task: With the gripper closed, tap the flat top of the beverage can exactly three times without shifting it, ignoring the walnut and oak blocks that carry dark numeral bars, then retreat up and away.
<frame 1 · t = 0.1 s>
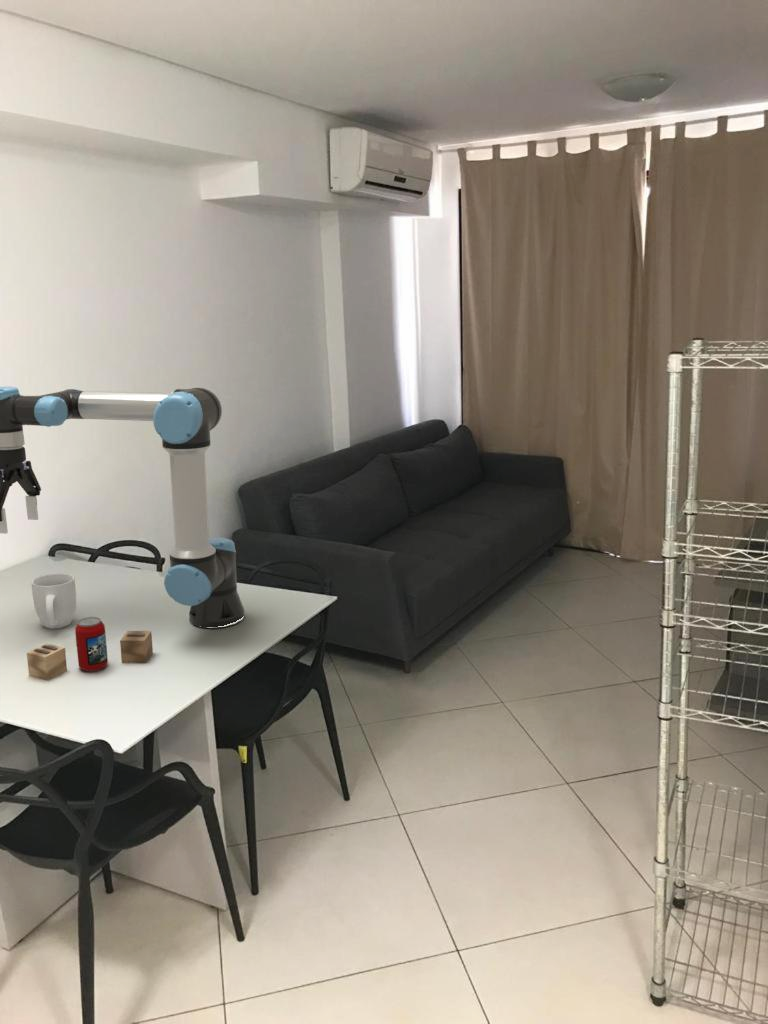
hand: (18, 526, 221), 28 cm above the table, fingers open, 13 cm apart
oak digit block: (48, 673, 199), on the table
walnut digit block: (137, 657, 208), on the table
mug: (57, 626, 228), on the table
beverage can: (93, 667, 203), on the table
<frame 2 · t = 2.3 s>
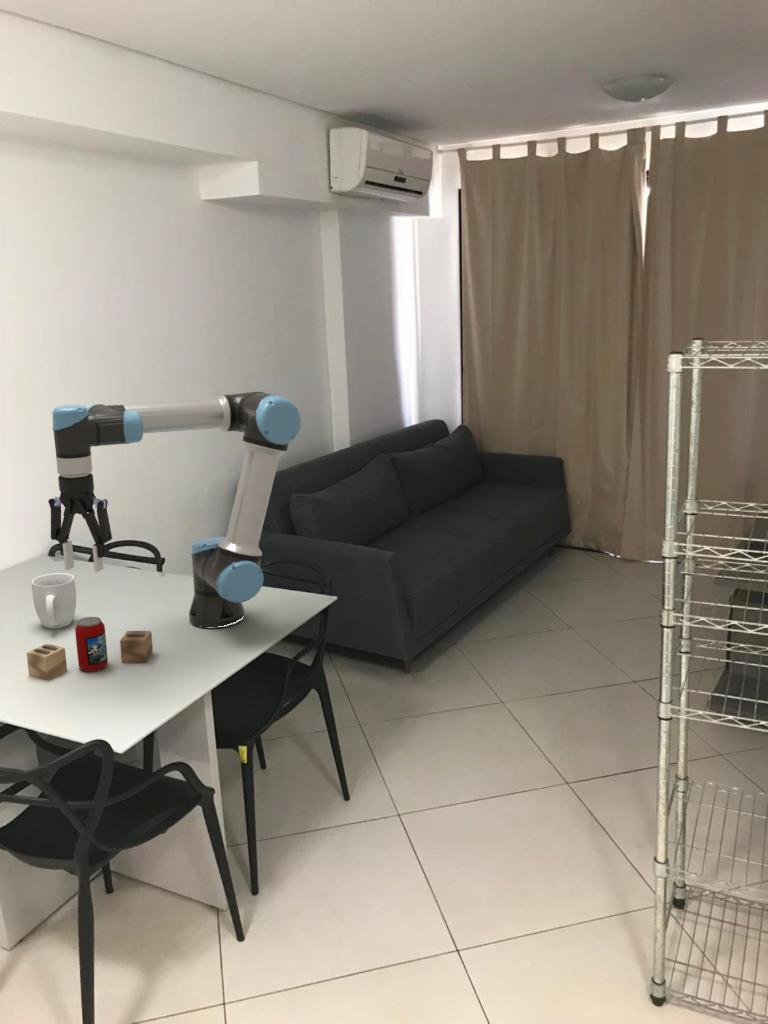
hand: (84, 569, 196), 25 cm above the table, fingers open, 7 cm apart
nothing on the table moved.
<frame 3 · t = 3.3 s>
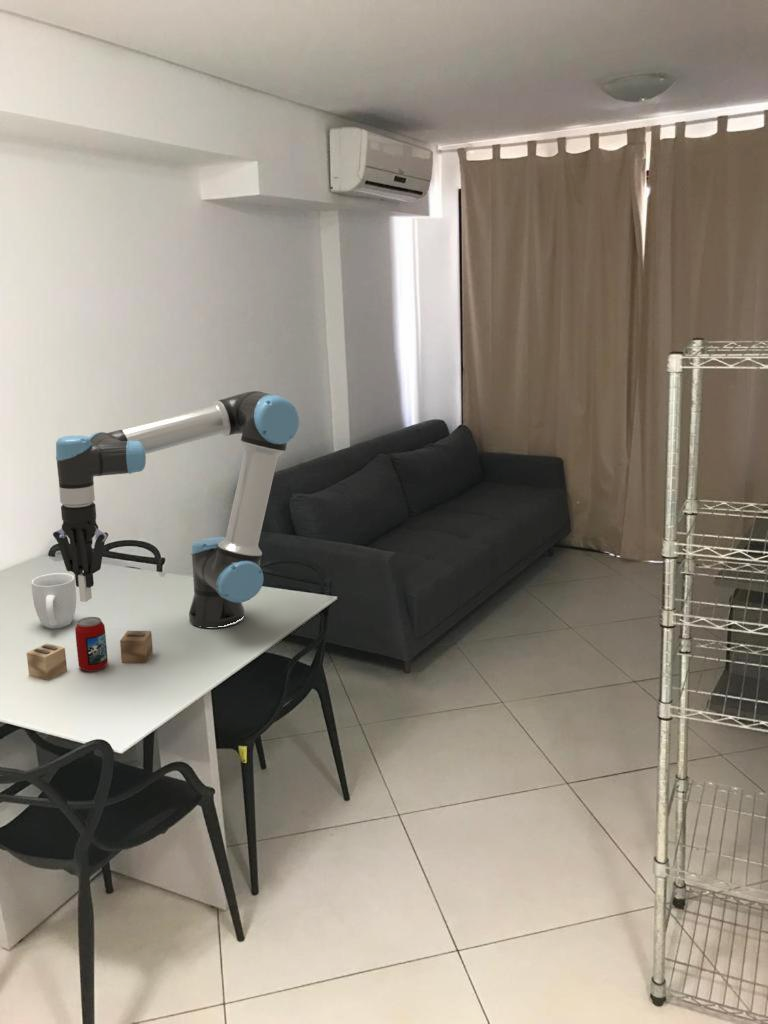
hand: (86, 599, 198), 17 cm above the table, fingers closed
nothing on the table moved.
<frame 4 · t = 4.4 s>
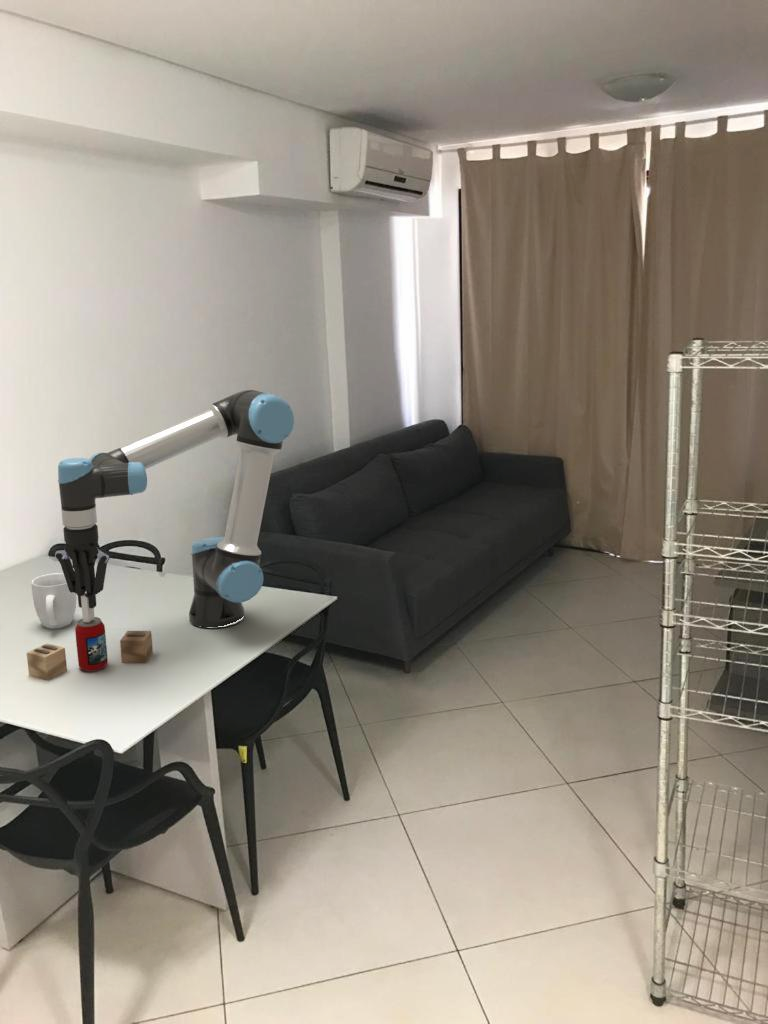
hand: (88, 620, 199), 12 cm above the table, fingers closed
beverage can: (93, 667, 203), on the table, touching gripper
everything else where it was.
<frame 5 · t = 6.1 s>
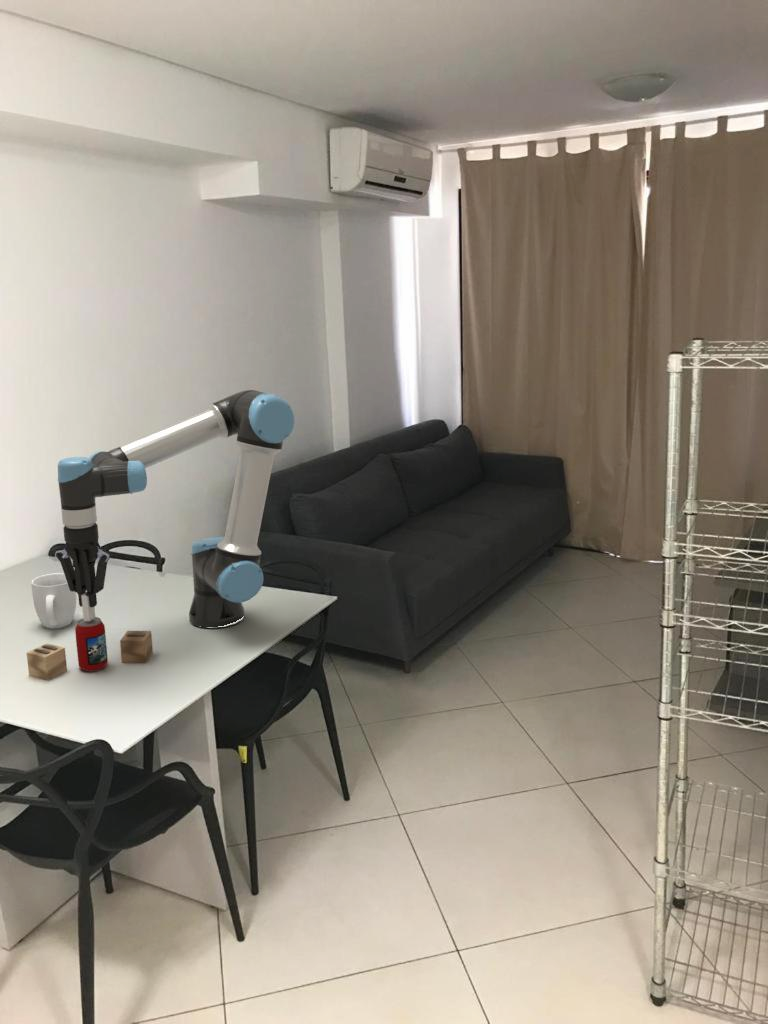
hand: (89, 618, 199), 12 cm above the table, fingers closed
beverage can: (93, 667, 203), on the table
everything else where it was.
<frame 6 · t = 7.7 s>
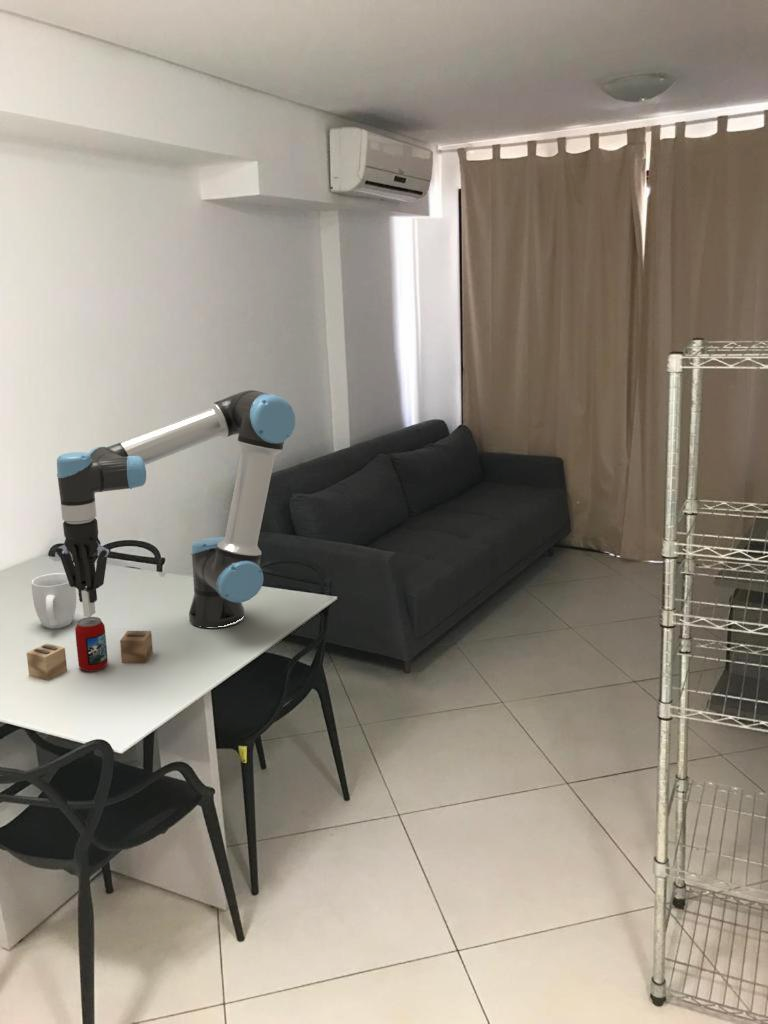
hand: (89, 614, 199), 14 cm above the table, fingers closed
nothing on the table moved.
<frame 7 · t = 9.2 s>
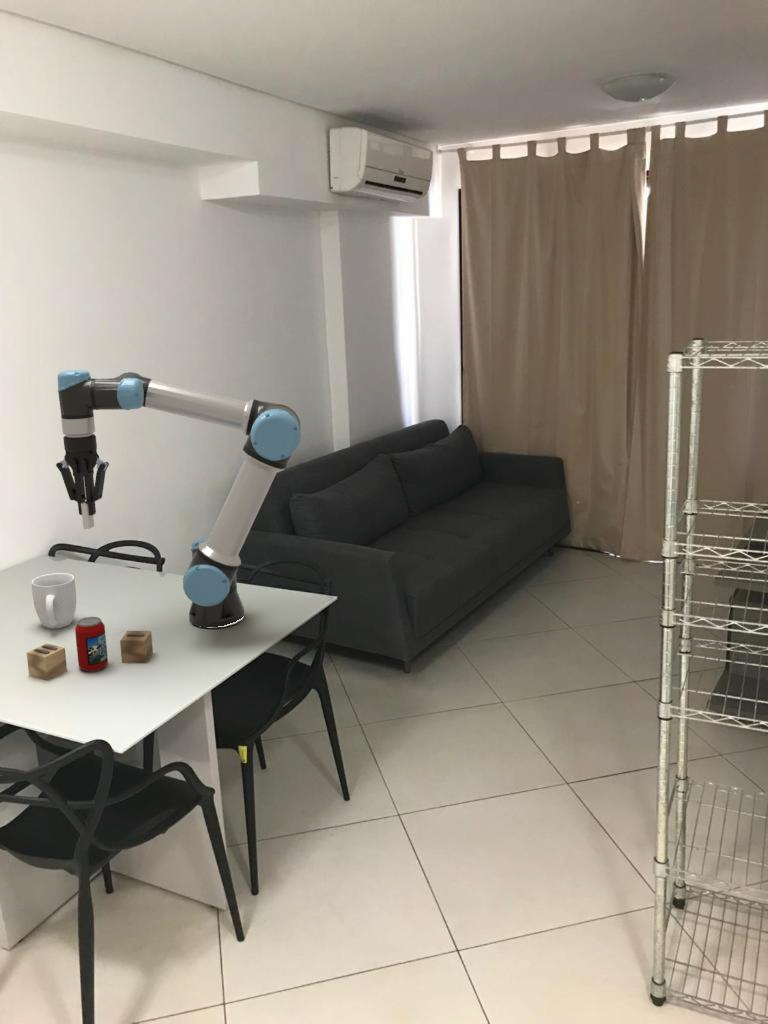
hand: (88, 527, 210), 31 cm above the table, fingers closed
nothing on the table moved.
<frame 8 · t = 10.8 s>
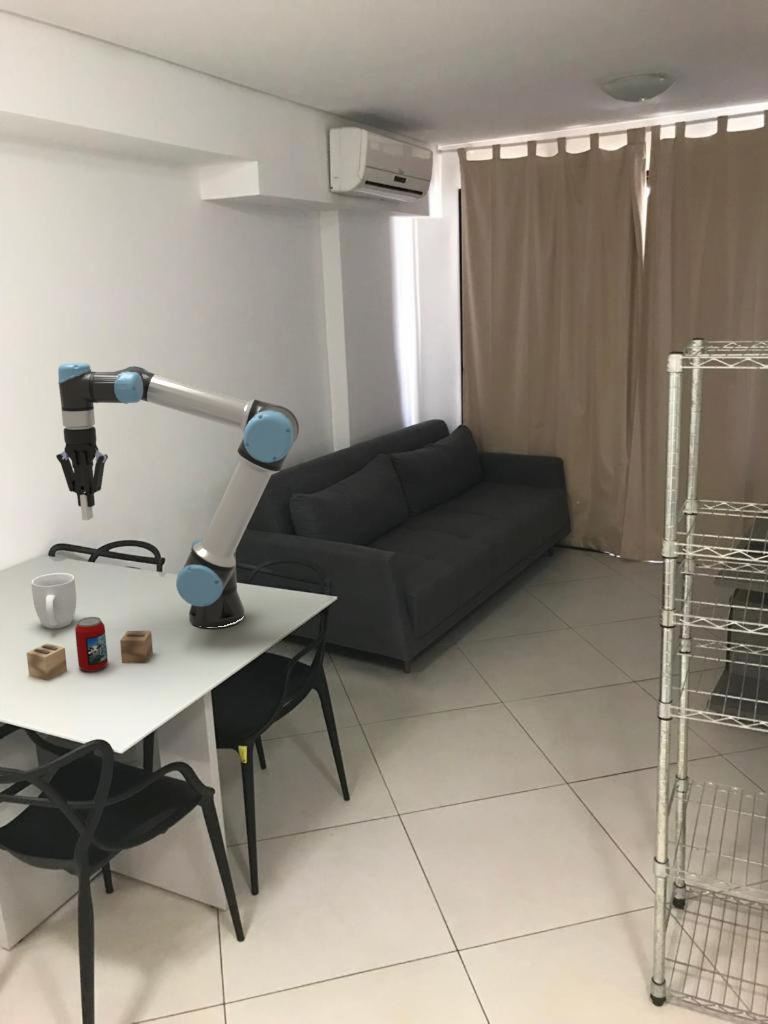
hand: (87, 518, 212), 32 cm above the table, fingers closed
nothing on the table moved.
at the end: beverage can moved 0.2 cm from its start; beverage can tilted 0°; oak digit block moved 0.1 cm from its start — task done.
